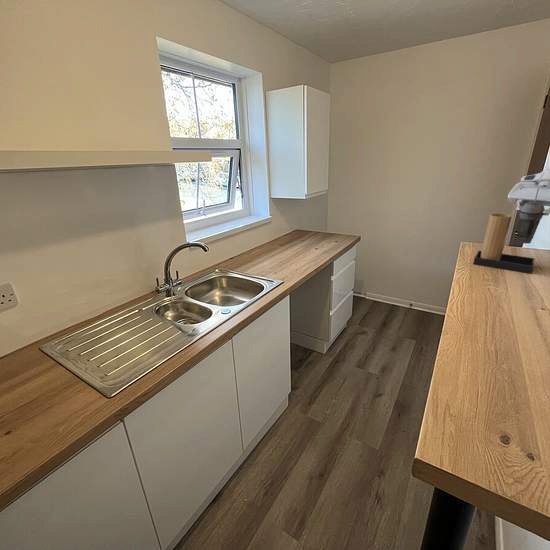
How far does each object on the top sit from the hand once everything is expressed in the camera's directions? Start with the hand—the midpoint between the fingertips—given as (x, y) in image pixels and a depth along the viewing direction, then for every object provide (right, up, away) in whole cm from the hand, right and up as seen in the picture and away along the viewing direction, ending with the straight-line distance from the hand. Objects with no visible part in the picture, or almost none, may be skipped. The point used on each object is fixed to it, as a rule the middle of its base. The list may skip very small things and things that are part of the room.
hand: (530, 212), depth 112 cm
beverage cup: (+1, -11, +5) cm, 12 cm away
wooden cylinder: (-6, -18, +14) cm, 24 cm away
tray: (-2, -19, +11) cm, 22 cm away
